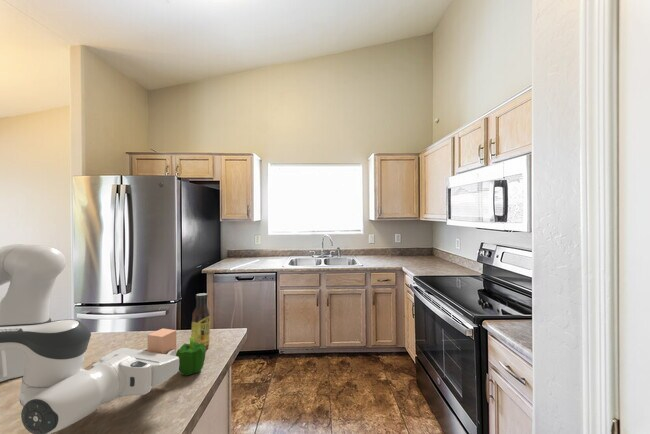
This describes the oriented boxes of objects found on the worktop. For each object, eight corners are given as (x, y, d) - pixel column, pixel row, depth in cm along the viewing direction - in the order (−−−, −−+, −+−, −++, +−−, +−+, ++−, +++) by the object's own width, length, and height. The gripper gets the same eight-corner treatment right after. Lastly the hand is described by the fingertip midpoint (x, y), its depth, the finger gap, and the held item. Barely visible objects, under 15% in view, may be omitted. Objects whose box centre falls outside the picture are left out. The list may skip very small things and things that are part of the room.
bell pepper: (200, 378, 86) (200, 344, 86) (171, 379, 85) (172, 345, 86) (209, 364, 94) (209, 333, 95) (183, 365, 94) (184, 334, 94)
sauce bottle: (202, 353, 102) (203, 297, 103) (187, 351, 103) (187, 296, 104) (213, 345, 109) (213, 292, 109) (198, 344, 110) (198, 291, 110)
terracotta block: (161, 381, 78) (162, 336, 78) (147, 378, 79) (147, 334, 80) (175, 372, 83) (176, 330, 83) (161, 369, 84) (162, 328, 84)
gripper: (85, 381, 72) (136, 356, 85) (150, 396, 66) (193, 366, 79) (86, 356, 72) (136, 335, 85) (151, 368, 66) (194, 343, 79)
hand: (164, 350), depth 82 cm, fingers closed on terracotta block, 5 cm apart
